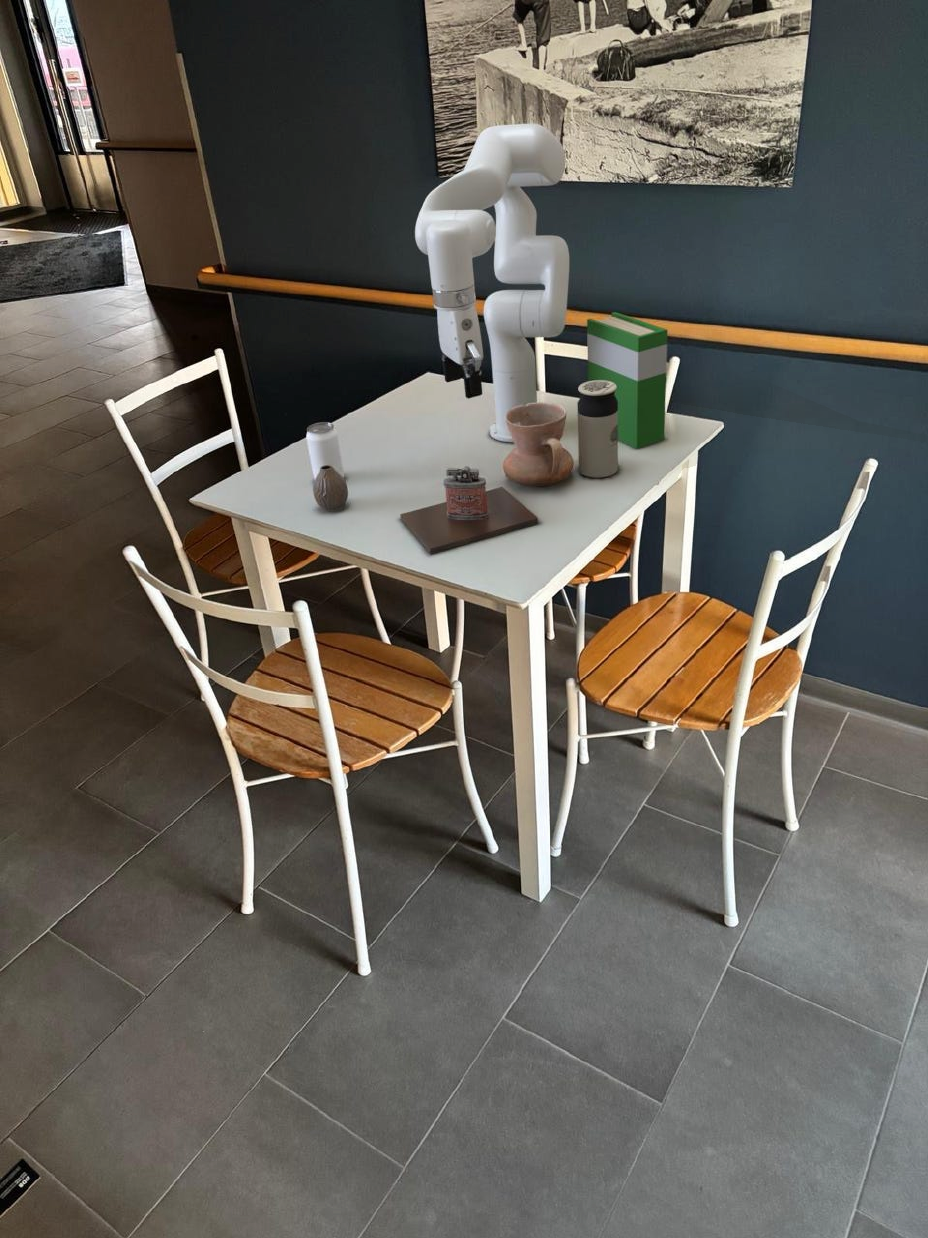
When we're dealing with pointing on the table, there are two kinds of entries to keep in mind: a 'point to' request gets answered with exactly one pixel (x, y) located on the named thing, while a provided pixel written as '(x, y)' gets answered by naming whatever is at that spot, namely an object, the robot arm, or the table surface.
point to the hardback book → (631, 373)
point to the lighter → (465, 494)
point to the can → (324, 447)
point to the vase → (330, 489)
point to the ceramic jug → (537, 445)
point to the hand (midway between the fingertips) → (463, 388)
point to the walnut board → (467, 522)
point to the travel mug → (598, 429)
